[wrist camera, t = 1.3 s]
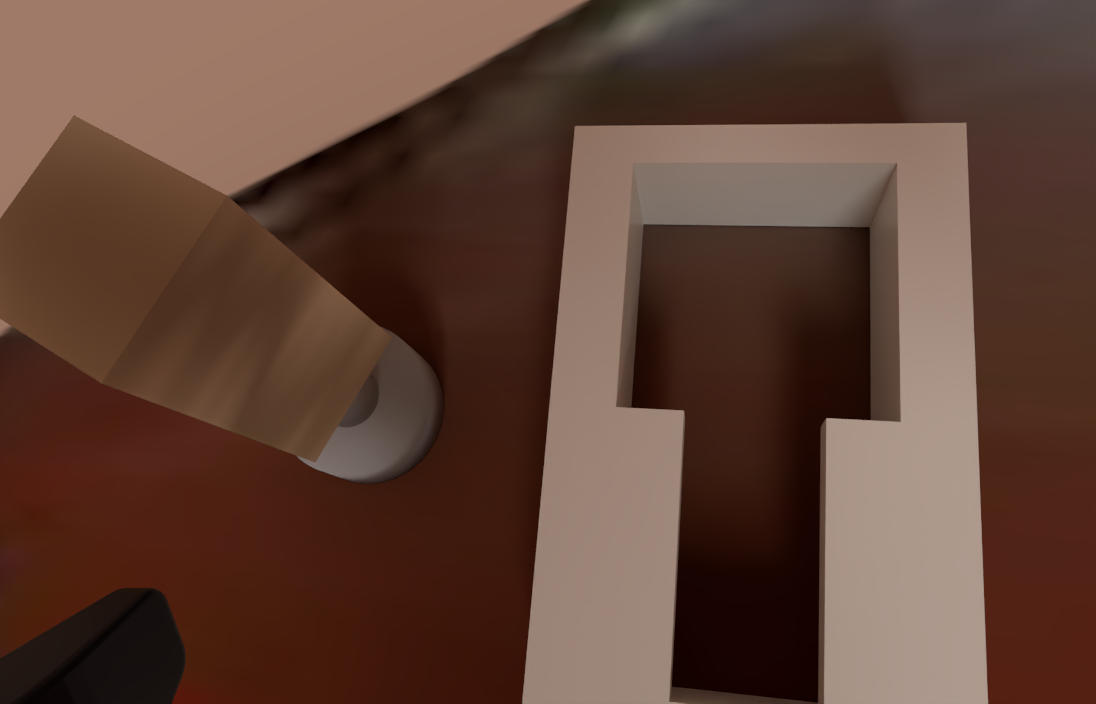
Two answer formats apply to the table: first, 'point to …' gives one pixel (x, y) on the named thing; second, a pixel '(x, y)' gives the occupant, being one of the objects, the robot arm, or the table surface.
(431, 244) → the table surface
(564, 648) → the keyhole block
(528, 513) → the table surface
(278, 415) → the maple peg
